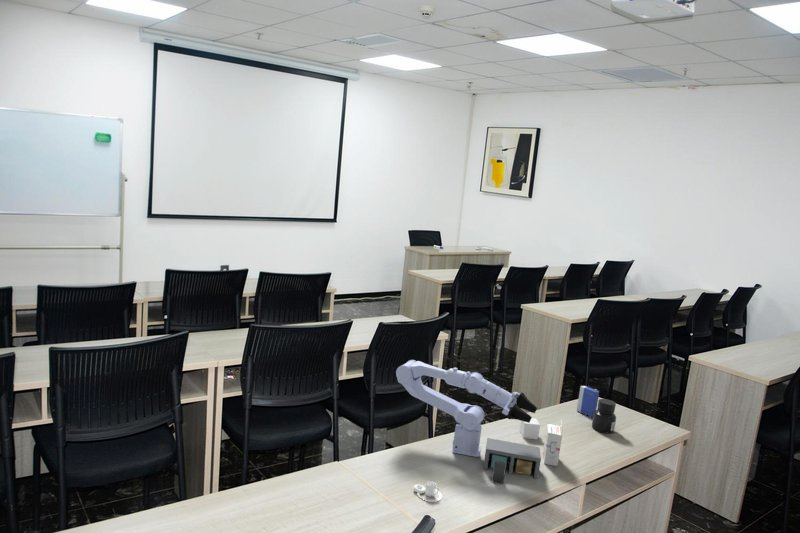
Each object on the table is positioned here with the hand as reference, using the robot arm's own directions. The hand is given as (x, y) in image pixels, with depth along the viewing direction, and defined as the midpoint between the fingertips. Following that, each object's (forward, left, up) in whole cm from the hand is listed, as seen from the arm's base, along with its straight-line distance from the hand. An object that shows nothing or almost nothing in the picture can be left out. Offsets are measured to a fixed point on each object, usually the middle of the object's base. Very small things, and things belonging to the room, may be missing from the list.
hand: (533, 415), depth 199 cm
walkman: (+28, +64, -19) cm, 72 cm away
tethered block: (-9, -7, -19) cm, 22 cm away
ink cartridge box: (+9, +10, -19) cm, 23 cm away
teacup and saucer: (-30, -27, -20) cm, 45 cm away
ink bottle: (+33, +49, -19) cm, 62 cm away
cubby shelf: (-5, -2, -19) cm, 20 cm away
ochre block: (-1, -2, -19) cm, 19 cm away
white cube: (+2, +29, -19) cm, 35 cm away
